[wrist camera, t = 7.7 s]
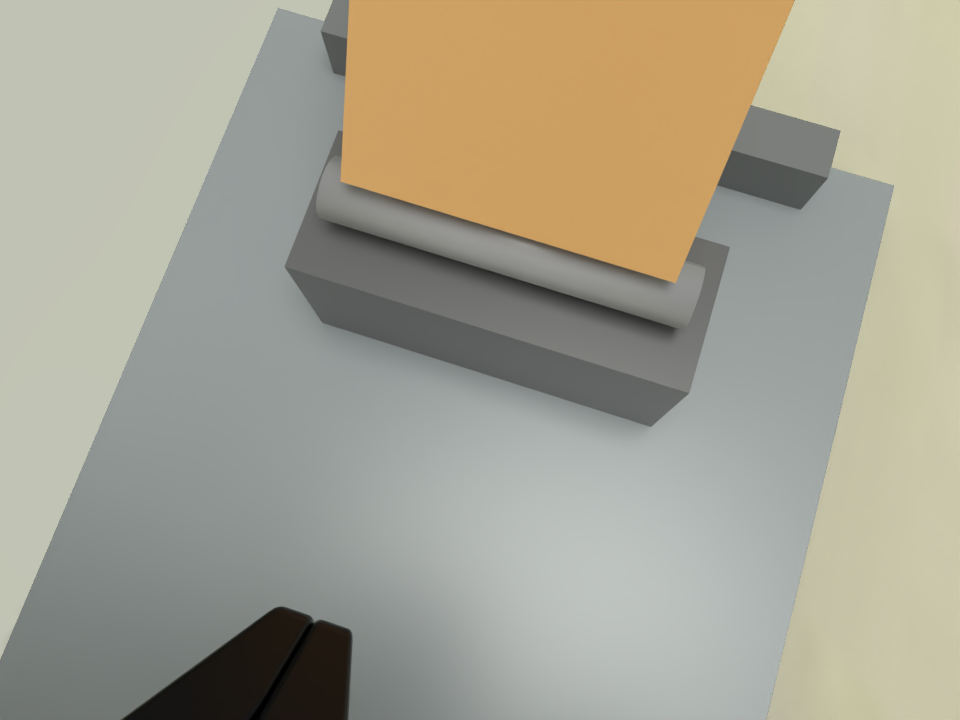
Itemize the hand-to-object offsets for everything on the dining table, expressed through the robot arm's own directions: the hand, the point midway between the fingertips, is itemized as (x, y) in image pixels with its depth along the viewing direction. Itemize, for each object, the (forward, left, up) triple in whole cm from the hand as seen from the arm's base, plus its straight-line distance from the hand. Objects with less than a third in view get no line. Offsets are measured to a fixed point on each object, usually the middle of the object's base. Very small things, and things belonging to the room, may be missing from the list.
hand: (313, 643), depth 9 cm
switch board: (+2, -2, -12) cm, 12 cm away
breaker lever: (+4, -5, -6) cm, 9 cm away
